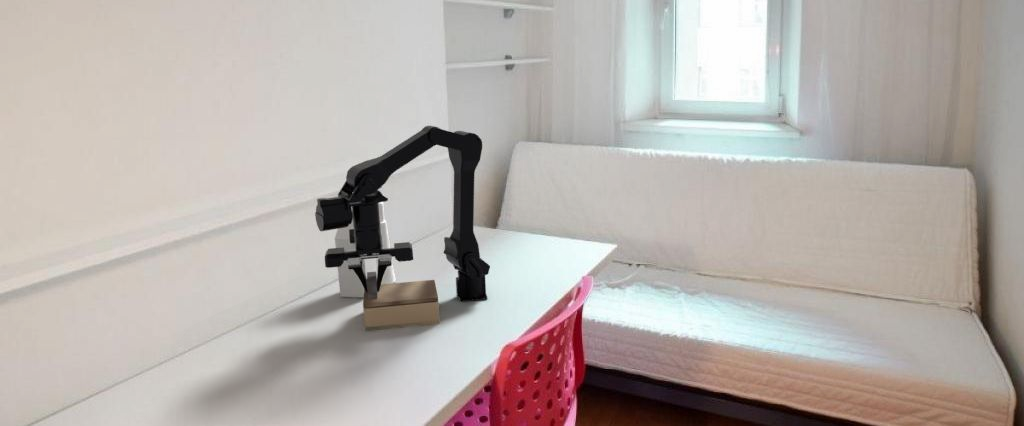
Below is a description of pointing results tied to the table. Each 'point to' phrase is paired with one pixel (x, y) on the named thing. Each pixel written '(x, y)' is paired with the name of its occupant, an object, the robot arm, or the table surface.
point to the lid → (398, 292)
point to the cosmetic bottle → (389, 272)
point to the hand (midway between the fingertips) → (372, 291)
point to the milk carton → (348, 277)
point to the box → (401, 315)
